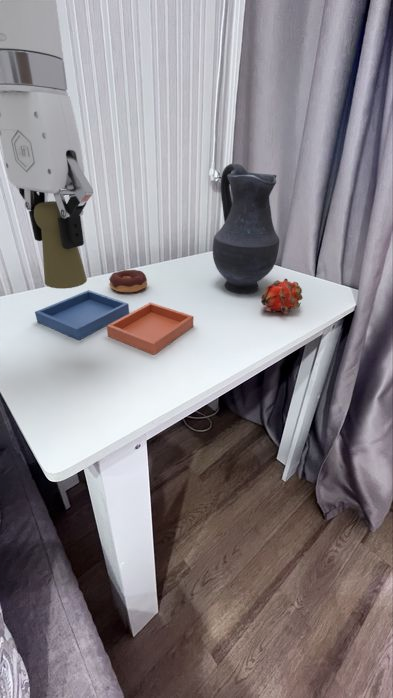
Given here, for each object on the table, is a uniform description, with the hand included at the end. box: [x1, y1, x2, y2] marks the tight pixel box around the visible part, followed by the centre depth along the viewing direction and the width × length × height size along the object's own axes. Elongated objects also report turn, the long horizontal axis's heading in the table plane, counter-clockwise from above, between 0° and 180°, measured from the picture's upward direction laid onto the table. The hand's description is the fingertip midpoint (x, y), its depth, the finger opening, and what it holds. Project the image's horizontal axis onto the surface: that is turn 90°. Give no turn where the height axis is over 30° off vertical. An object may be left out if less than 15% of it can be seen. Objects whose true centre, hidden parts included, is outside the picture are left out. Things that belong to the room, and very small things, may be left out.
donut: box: [109, 269, 148, 293], centre depth 89 cm, size 10×10×4 cm
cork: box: [34, 200, 88, 289], centre depth 47 cm, size 6×6×11 cm
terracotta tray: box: [106, 302, 195, 356], centre depth 70 cm, size 14×12×2 cm
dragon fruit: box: [260, 278, 304, 315], centre depth 80 cm, size 8×8×12 cm
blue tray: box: [34, 289, 130, 341], centre depth 74 cm, size 15×13×2 cm
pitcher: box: [212, 163, 280, 295], centre depth 87 cm, size 17×21×30 cm
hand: (59, 241), depth 47 cm, fingers closed on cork, 5 cm apart
